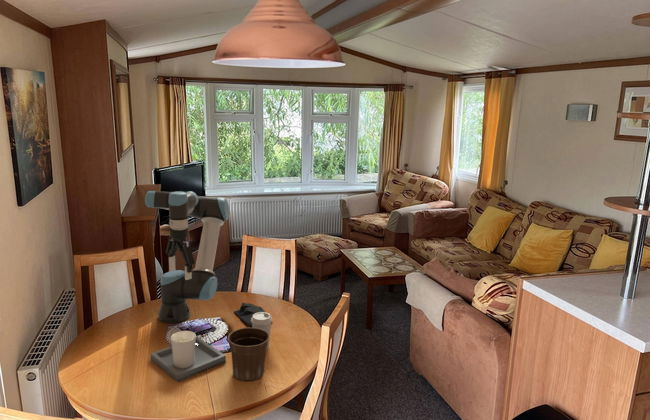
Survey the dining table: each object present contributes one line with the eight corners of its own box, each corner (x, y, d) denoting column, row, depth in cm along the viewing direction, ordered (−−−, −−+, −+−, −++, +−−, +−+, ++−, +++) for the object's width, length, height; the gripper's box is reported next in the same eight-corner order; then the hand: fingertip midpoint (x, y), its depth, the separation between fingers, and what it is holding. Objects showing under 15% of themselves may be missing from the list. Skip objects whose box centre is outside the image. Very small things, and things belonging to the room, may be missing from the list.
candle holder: (174, 356, 202) (174, 330, 199) (198, 356, 202) (198, 330, 200) (168, 369, 192) (167, 342, 189) (193, 369, 193) (193, 342, 190)
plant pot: (244, 358, 204) (244, 323, 201) (276, 368, 198) (277, 332, 194) (219, 377, 190) (219, 339, 187) (253, 388, 183) (254, 350, 180)
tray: (150, 360, 200) (150, 353, 200) (197, 342, 216) (197, 336, 215) (178, 382, 186) (177, 375, 185) (225, 361, 201) (225, 355, 200)
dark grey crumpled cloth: (244, 330, 231) (244, 320, 230) (232, 311, 250) (232, 303, 249) (274, 324, 237) (274, 315, 236) (260, 307, 257) (260, 299, 256)
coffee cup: (268, 353, 209) (268, 321, 206) (247, 350, 211) (247, 319, 208) (274, 343, 218) (275, 312, 215) (254, 340, 220) (255, 310, 217)
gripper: (156, 223, 211) (158, 269, 216) (186, 235, 194) (187, 285, 199) (172, 221, 216) (173, 265, 221) (202, 232, 200) (203, 280, 204)
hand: (180, 274), depth 210 cm, fingers open, 13 cm apart
